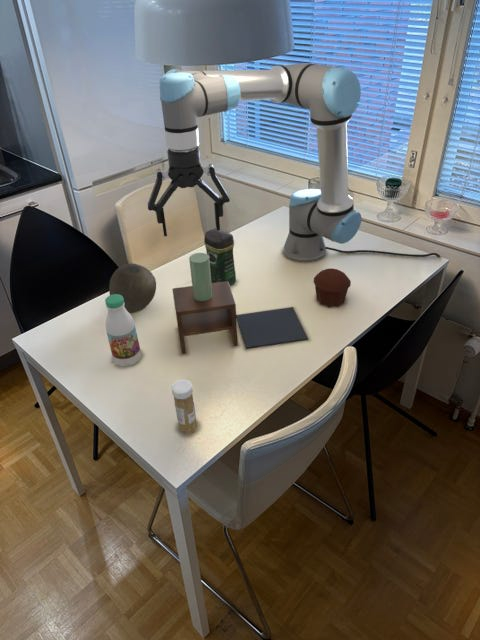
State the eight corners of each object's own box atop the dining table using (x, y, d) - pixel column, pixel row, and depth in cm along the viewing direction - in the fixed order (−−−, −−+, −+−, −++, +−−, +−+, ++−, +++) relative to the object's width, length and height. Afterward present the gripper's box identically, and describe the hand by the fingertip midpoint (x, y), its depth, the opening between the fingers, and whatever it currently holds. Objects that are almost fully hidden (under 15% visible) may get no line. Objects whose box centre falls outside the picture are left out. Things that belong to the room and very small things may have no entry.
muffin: (356, 300, 156) (359, 273, 150) (332, 314, 150) (334, 286, 144) (328, 285, 163) (330, 259, 157) (304, 298, 158) (306, 271, 152)
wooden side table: (230, 321, 149) (228, 280, 141) (237, 345, 140) (235, 304, 131) (178, 328, 147) (172, 288, 139) (181, 354, 138) (175, 312, 129)
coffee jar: (240, 282, 167) (238, 232, 156) (222, 291, 163) (219, 241, 152) (221, 272, 173) (218, 223, 162) (204, 281, 169) (199, 231, 158)
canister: (211, 289, 137) (207, 251, 130) (213, 299, 133) (210, 261, 126) (192, 292, 137) (188, 254, 130) (194, 302, 133) (190, 263, 125)
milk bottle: (110, 355, 139) (94, 295, 127) (136, 345, 142) (123, 287, 130) (118, 370, 133) (103, 310, 121) (145, 360, 136) (133, 300, 124)
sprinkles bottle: (200, 431, 115) (194, 389, 107) (181, 437, 114) (174, 395, 106) (194, 417, 118) (189, 376, 110) (176, 423, 117) (169, 381, 109)
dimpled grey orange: (133, 327, 149) (124, 285, 140) (105, 310, 156) (95, 269, 148) (168, 306, 157) (161, 265, 148) (139, 291, 165) (131, 251, 156)
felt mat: (292, 308, 153) (292, 306, 153) (307, 339, 141) (308, 338, 140) (236, 316, 151) (235, 315, 151) (246, 349, 138) (246, 347, 138)
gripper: (233, 138, 119) (236, 219, 131) (128, 147, 116) (142, 230, 128) (238, 147, 113) (241, 232, 125) (128, 157, 110) (143, 243, 122)
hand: (191, 231), depth 127 cm, fingers open, 13 cm apart
